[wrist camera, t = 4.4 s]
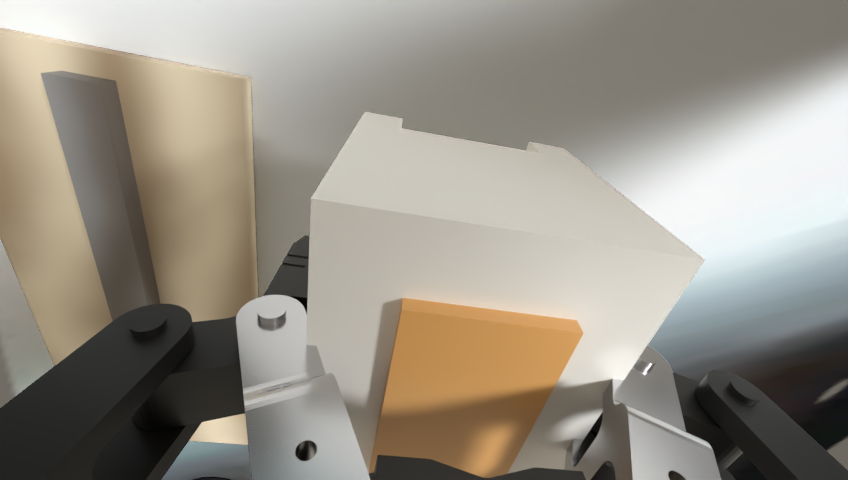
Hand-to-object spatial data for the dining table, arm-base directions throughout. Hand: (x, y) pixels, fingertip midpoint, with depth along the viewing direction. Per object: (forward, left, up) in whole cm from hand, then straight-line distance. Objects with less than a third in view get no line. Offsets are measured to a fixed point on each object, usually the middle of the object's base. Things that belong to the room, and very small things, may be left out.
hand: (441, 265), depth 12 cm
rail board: (+15, +10, -8) cm, 19 cm away
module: (0, 0, -1) cm, 1 cm away
